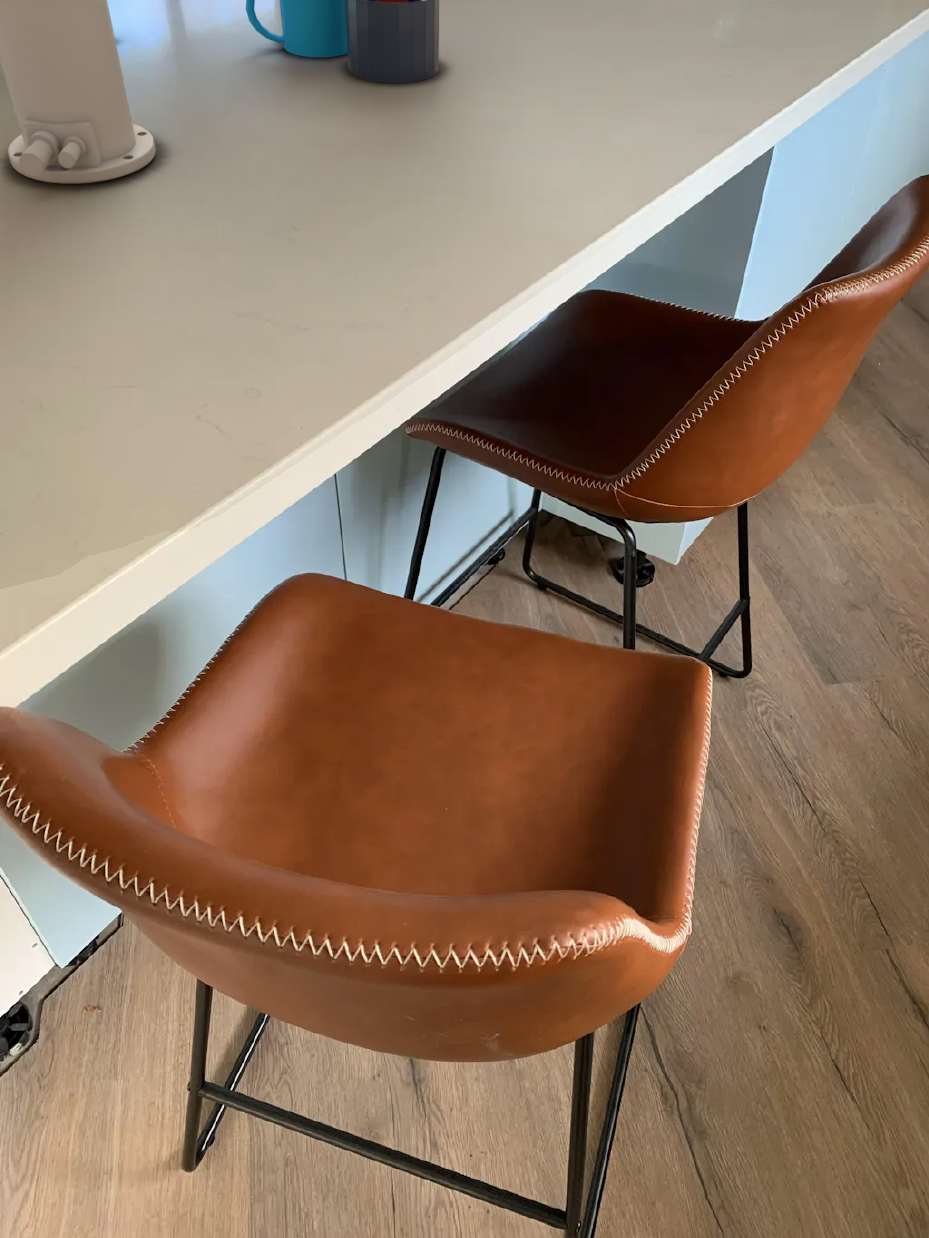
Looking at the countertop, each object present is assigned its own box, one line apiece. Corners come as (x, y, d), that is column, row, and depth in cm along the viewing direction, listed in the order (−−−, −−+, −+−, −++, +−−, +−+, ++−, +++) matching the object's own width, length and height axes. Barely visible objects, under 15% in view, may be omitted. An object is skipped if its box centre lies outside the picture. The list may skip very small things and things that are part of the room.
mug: (347, 33, 114) (343, -48, 108) (361, 55, 109) (357, -29, 103) (246, 38, 111) (236, -45, 105) (254, 61, 106) (244, -25, 100)
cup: (438, 85, 103) (439, 4, 97) (345, 82, 102) (340, 1, 97) (438, 55, 110) (439, -22, 104) (351, 52, 109) (347, -25, 104)
